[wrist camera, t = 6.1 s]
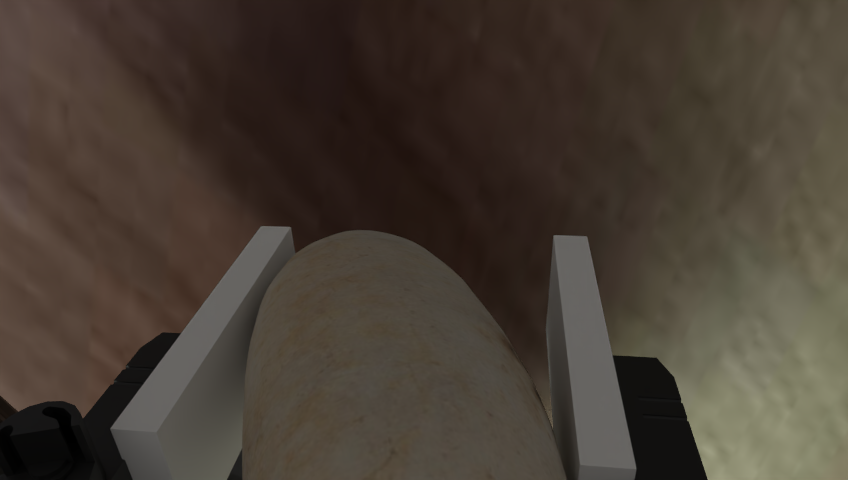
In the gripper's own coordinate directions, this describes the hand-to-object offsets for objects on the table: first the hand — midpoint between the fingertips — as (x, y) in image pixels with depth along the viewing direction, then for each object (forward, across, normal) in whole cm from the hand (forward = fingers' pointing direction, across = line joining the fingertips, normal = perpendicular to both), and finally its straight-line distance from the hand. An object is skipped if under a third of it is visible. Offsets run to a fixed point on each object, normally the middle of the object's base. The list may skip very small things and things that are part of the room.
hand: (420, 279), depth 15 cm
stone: (+2, 0, 0) cm, 2 cm away
